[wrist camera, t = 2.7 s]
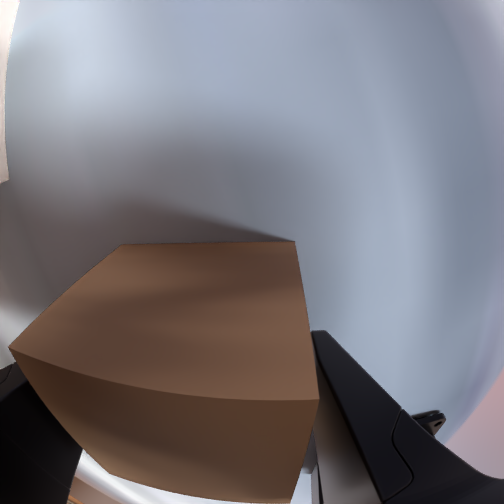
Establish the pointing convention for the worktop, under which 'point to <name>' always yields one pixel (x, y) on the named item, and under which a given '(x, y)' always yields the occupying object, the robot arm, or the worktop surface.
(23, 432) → the robot arm
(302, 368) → the walnut cube
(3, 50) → the plastic box
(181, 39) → the worktop surface
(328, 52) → the worktop surface
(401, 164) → the worktop surface
